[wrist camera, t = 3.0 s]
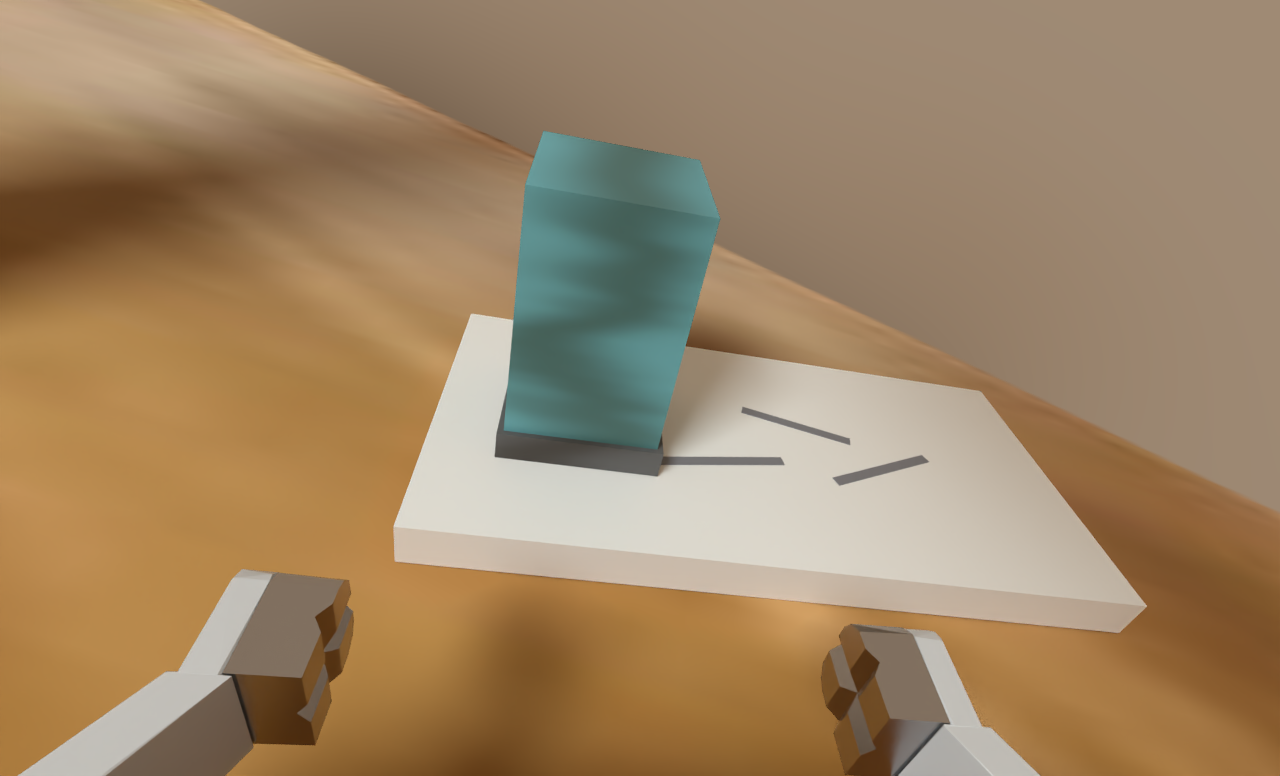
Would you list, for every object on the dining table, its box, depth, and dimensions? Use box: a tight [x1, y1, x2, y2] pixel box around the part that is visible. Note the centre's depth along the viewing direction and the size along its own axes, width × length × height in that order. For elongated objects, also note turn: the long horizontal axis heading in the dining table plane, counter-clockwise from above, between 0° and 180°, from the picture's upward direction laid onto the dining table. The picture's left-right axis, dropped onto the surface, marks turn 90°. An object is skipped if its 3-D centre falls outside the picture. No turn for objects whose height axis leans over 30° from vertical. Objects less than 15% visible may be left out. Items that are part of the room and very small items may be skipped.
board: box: [394, 314, 1147, 633], centre depth 25 cm, size 24×12×2 cm, turn 92°
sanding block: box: [495, 131, 720, 476], centre depth 21 cm, size 5×5×9 cm
